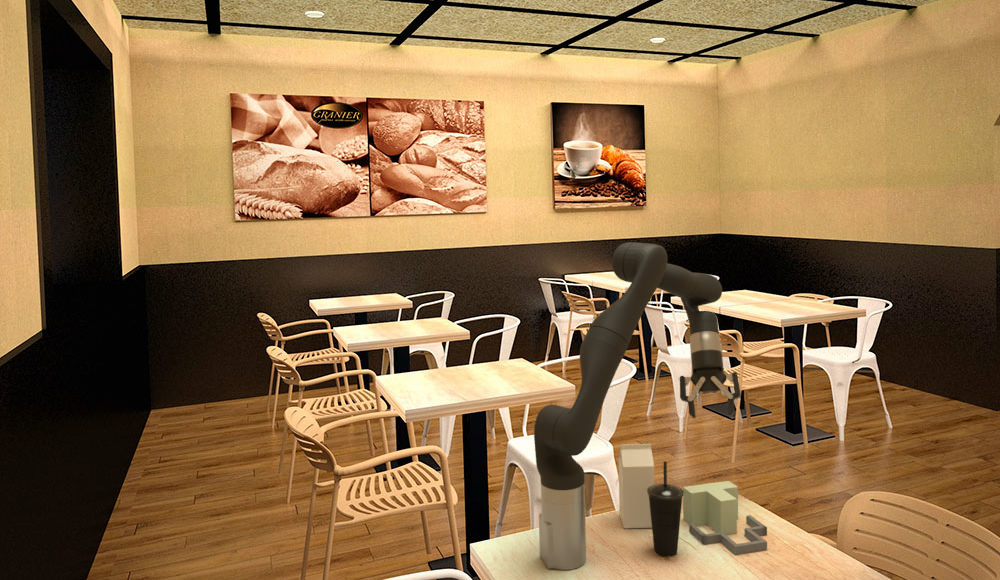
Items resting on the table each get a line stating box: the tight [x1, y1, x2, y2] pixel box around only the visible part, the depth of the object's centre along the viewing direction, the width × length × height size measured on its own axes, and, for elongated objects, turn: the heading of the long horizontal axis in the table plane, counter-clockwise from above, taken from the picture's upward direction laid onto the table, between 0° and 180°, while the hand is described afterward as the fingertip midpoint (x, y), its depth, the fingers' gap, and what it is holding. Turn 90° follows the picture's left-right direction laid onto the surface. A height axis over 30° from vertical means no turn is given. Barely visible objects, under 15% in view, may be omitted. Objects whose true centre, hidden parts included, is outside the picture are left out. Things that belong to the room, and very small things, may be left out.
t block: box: [682, 480, 739, 536], centre depth 165 cm, size 12×10×8 cm
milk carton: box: [618, 443, 655, 529], centre depth 167 cm, size 7×7×19 cm
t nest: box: [688, 514, 768, 556], centre depth 158 cm, size 16×13×2 cm
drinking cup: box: [647, 461, 684, 558], centre depth 153 cm, size 8×8×20 cm
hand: (712, 416), depth 173 cm, fingers open, 8 cm apart
